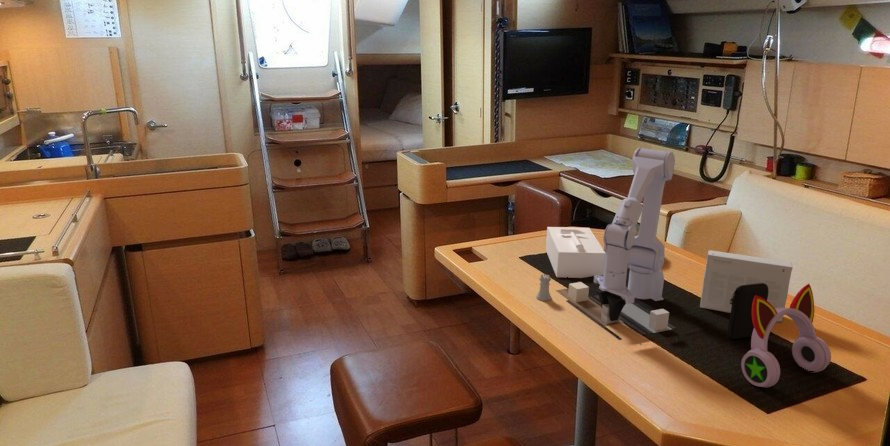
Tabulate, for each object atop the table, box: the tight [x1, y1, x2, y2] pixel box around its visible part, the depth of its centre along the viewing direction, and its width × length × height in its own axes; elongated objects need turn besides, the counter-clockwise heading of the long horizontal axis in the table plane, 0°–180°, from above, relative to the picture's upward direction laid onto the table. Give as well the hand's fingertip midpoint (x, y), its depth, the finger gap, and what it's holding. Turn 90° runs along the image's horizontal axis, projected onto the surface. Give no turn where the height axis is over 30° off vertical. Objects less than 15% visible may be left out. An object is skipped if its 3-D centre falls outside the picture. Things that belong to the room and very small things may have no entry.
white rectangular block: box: [545, 226, 606, 279], centre depth 208 cm, size 14×25×11 cm, turn 179°
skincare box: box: [699, 249, 793, 323], centre depth 175 cm, size 21×5×16 cm, turn 65°
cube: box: [568, 281, 590, 302], centre depth 180 cm, size 4×4×4 cm
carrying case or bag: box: [726, 283, 769, 340], centre depth 160 cm, size 11×3×15 cm, turn 106°
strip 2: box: [621, 303, 672, 334], centre depth 172 cm, size 6×24×6 cm, turn 22°
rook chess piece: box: [535, 273, 552, 302], centre depth 179 cm, size 4×4×8 cm
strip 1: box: [555, 287, 625, 327], centre depth 175 cm, size 6×24×6 cm, turn 22°
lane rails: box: [565, 294, 677, 341], centre depth 171 cm, size 18×24×1 cm
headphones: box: [740, 283, 832, 388], centre depth 142 cm, size 20×10×20 cm, turn 115°
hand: (610, 317), depth 167 cm, fingers closed on strip 1, 2 cm apart
